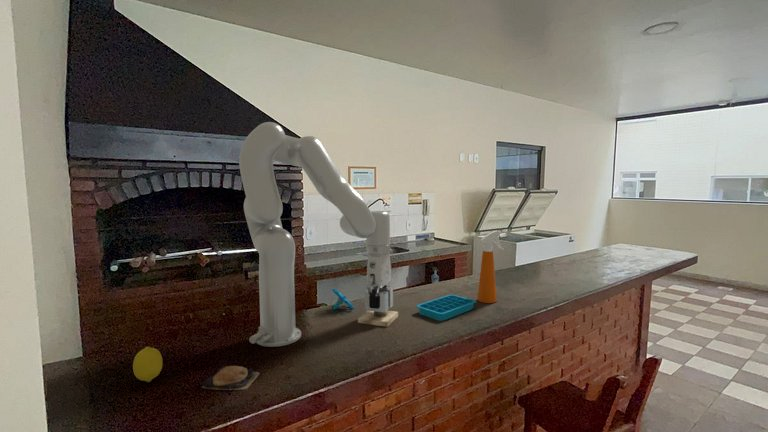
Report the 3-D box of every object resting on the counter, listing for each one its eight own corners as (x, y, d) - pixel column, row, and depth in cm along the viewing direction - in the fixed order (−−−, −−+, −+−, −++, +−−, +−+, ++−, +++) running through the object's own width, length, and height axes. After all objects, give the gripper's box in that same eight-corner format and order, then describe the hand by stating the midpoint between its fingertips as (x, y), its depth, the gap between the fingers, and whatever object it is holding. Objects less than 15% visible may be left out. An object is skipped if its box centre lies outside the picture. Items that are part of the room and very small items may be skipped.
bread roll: (261, 374, 87) (261, 359, 87) (244, 394, 79) (244, 377, 78) (218, 372, 88) (218, 357, 88) (197, 391, 80) (196, 374, 80)
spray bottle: (508, 301, 140) (510, 231, 138) (485, 304, 136) (486, 232, 134) (496, 295, 146) (497, 229, 144) (473, 299, 142) (474, 230, 140)
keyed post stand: (357, 322, 118) (357, 301, 118) (370, 312, 127) (370, 292, 127) (387, 326, 114) (387, 304, 114) (398, 316, 124) (398, 295, 123)
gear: (356, 308, 127) (335, 288, 126) (344, 321, 126) (323, 301, 125) (354, 303, 138) (334, 284, 137) (342, 315, 137) (322, 296, 136)
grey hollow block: (364, 310, 119) (364, 291, 118) (373, 303, 125) (373, 286, 125) (385, 312, 116) (385, 293, 116) (393, 305, 123) (392, 287, 122)
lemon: (168, 375, 86) (166, 341, 85) (154, 388, 80) (152, 352, 79) (143, 375, 85) (141, 341, 85) (128, 388, 80) (125, 352, 79)
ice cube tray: (477, 309, 132) (478, 301, 131) (441, 323, 118) (441, 314, 118) (451, 301, 140) (451, 294, 140) (414, 314, 126) (414, 305, 126)
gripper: (378, 255, 110) (379, 314, 111) (398, 246, 126) (398, 297, 127) (355, 254, 112) (357, 311, 114) (377, 245, 129) (378, 295, 130)
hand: (379, 303), depth 121 cm, fingers closed on grey hollow block, 7 cm apart
